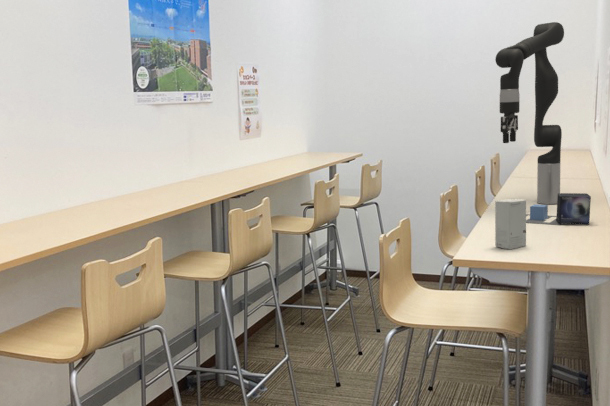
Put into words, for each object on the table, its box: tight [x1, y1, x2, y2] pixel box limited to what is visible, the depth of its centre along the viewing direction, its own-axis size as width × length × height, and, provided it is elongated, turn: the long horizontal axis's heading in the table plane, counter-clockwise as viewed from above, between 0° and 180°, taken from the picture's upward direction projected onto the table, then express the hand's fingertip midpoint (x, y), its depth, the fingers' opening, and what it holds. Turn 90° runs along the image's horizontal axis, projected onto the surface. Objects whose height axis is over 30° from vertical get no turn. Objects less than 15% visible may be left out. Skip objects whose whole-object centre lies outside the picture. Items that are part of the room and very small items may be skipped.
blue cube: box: [529, 204, 549, 220], centre depth 263 cm, size 5×5×5 cm
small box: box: [556, 192, 592, 226], centre depth 252 cm, size 11×6×10 cm, turn 80°
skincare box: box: [494, 198, 527, 250], centre depth 219 cm, size 8×6×15 cm
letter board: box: [526, 213, 562, 226], centre depth 263 cm, size 17×20×1 cm
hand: (509, 142), depth 277 cm, fingers open, 8 cm apart
